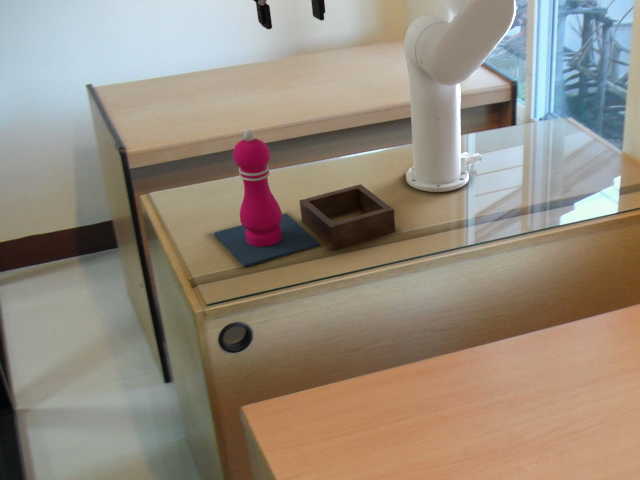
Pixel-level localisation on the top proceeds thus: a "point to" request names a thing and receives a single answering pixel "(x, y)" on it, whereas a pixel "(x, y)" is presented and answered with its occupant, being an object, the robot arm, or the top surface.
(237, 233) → the mat
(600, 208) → the top surface
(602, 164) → the top surface
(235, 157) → the pepper mill
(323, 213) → the stand
